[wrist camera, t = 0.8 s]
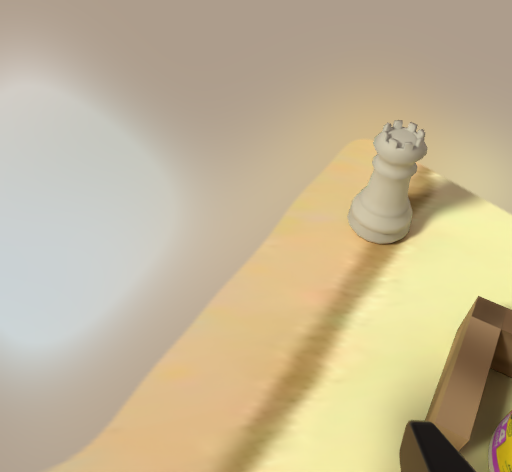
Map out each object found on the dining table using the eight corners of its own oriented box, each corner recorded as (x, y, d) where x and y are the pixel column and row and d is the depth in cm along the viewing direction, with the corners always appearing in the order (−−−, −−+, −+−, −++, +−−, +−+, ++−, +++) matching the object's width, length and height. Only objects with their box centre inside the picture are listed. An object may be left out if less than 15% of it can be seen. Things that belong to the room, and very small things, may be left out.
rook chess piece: (379, 257, 32) (408, 165, 26) (333, 220, 34) (350, 127, 28) (421, 228, 34) (458, 136, 28) (375, 195, 36) (400, 103, 30)
